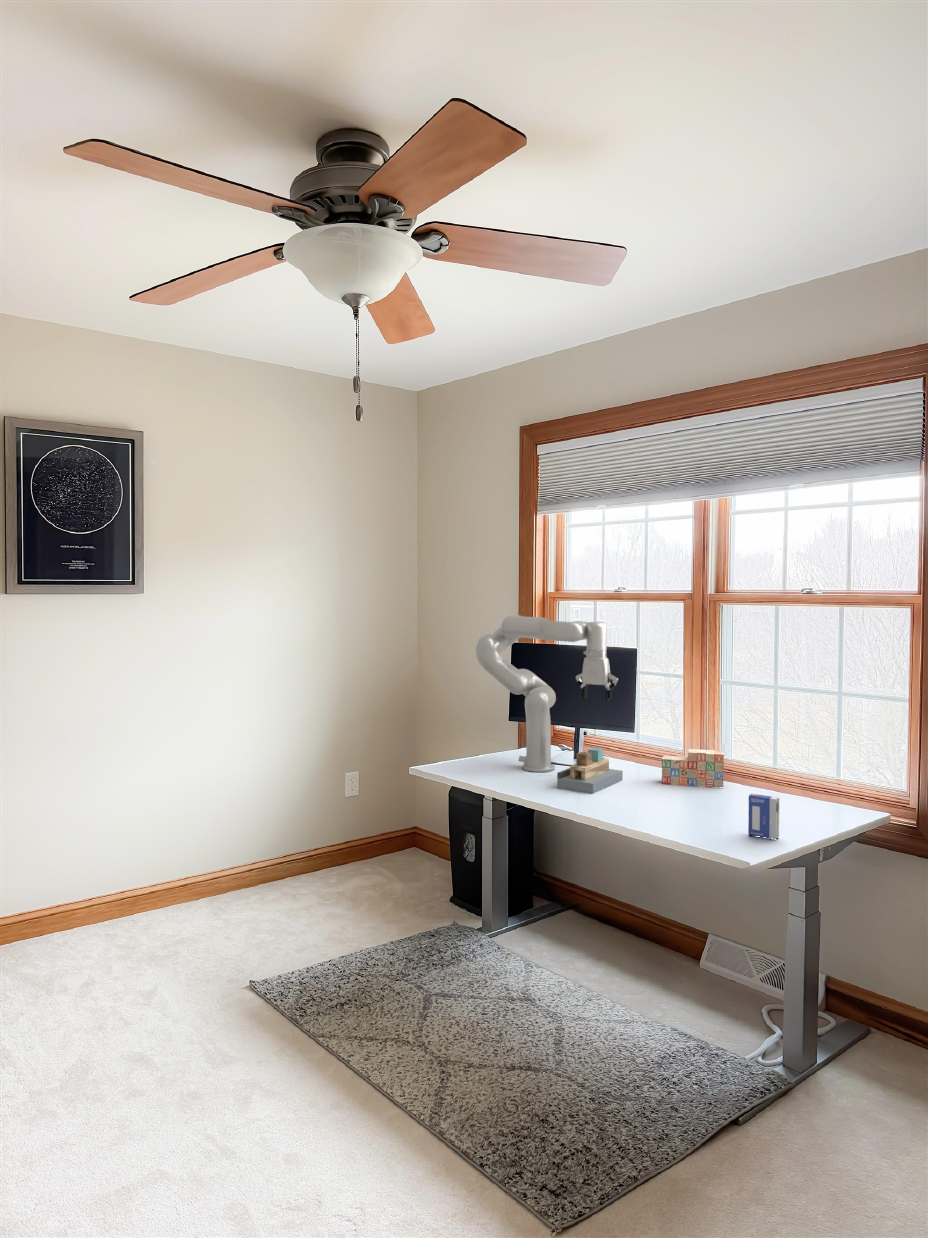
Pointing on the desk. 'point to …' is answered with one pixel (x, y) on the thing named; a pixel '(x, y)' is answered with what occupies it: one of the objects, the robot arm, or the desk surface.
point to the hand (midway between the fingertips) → (596, 699)
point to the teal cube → (596, 754)
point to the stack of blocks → (694, 769)
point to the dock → (588, 781)
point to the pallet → (589, 769)
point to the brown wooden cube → (583, 759)
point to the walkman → (763, 816)
